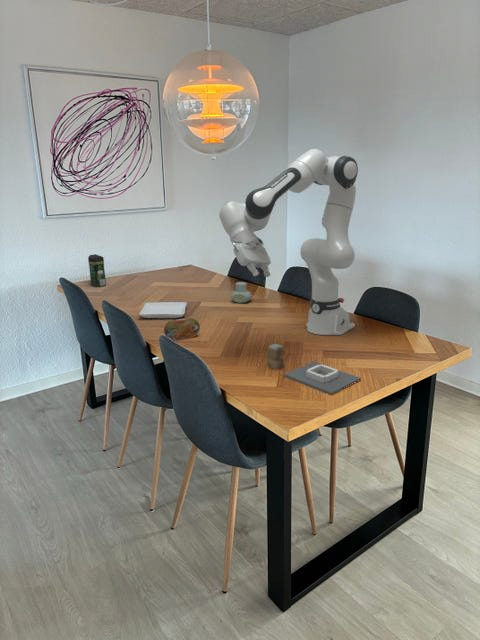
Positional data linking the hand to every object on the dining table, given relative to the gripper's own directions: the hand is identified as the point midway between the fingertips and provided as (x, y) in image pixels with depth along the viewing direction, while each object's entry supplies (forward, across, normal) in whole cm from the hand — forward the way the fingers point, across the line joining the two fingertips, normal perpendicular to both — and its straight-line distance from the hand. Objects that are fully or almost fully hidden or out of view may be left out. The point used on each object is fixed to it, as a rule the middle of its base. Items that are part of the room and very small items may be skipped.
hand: (262, 275), depth 179 cm
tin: (+1, +10, +49) cm, 50 cm away
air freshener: (-13, +69, +45) cm, 83 cm away
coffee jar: (-68, +63, +122) cm, 153 cm away
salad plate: (-20, +35, +69) cm, 80 cm away
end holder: (+42, -1, -2) cm, 42 cm away
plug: (+31, 0, +12) cm, 33 cm away
